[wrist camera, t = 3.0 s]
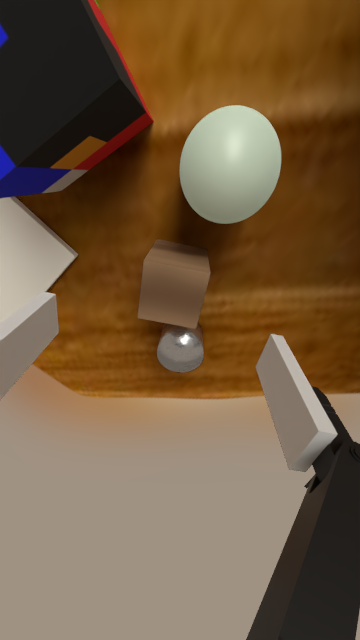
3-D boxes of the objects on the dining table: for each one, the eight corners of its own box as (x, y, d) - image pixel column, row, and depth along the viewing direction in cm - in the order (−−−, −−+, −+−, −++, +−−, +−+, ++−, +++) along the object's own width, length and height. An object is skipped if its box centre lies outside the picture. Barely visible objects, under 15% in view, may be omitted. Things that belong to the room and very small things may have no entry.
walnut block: (157, 238, 24) (143, 260, 18) (206, 248, 24) (210, 273, 18) (150, 285, 26) (137, 317, 20) (195, 294, 26) (196, 328, 20)
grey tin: (164, 312, 28) (160, 331, 24) (207, 320, 28) (208, 340, 25) (158, 346, 30) (154, 368, 27) (197, 353, 31) (198, 375, 27)
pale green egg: (192, 119, 19) (190, 93, 13) (266, 136, 19) (298, 118, 13) (178, 203, 22) (172, 213, 16) (242, 216, 22) (260, 231, 16)
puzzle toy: (61, 191, 22) (-25, 200, 13) (-34, 56, 18) (-247, -55, 9) (153, 121, 19) (119, 78, 11) (67, -60, 15) (-108, -379, 6)
